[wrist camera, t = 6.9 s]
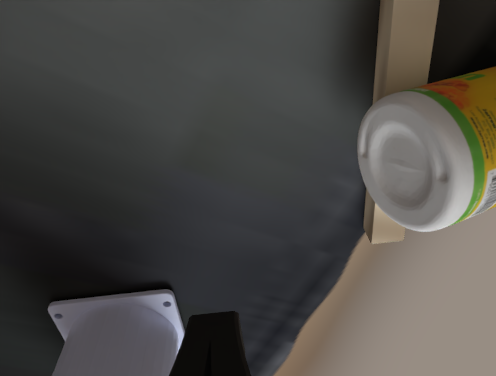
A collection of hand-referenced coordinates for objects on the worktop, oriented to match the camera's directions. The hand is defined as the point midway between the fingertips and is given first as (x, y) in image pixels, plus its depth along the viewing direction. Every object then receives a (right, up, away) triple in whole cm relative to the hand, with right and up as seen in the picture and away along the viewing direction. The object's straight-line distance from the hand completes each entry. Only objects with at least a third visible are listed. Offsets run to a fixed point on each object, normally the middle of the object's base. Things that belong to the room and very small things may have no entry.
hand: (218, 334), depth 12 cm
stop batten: (+8, +8, +8) cm, 14 cm away
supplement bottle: (+6, +5, +3) cm, 9 cm away
